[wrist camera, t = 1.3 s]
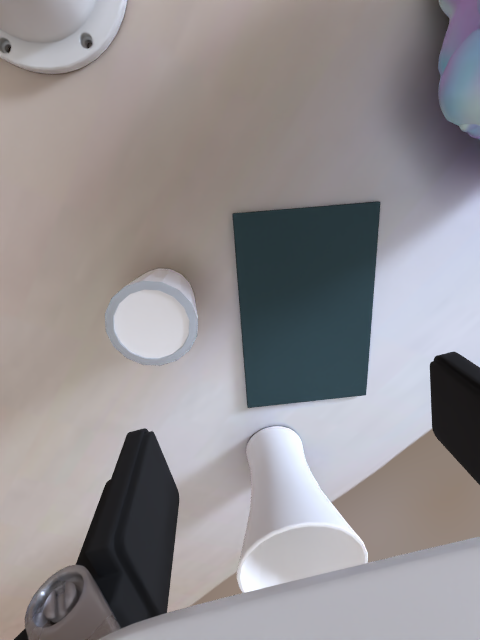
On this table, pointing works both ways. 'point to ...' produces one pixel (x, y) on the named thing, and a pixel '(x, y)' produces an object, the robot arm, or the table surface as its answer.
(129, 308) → the shot glass
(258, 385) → the mat
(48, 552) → the table surface
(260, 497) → the cup
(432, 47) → the table surface
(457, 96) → the pastel bubbly cloud
